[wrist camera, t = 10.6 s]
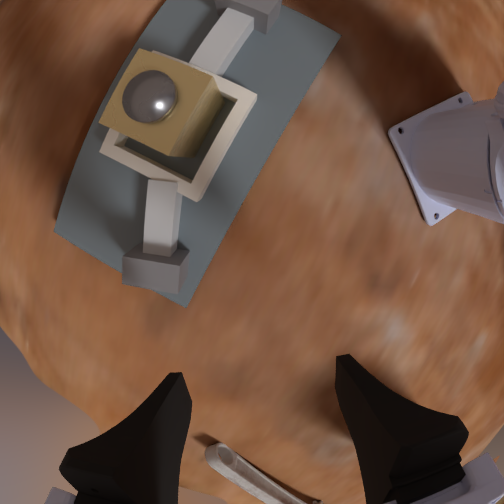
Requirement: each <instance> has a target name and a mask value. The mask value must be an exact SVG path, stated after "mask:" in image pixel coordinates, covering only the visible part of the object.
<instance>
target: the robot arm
mask: <svg viewBox="0 0 504 504" xmlns="http://www.w3.org/2000/svg"><path fill="white" fill-rule="evenodd" d="M458 99H459V100H460V103H459V101H458ZM398 128H400V129H401V130H402V133H401V134H400V133H399V132H398ZM388 135H389V138H390V140H391V142H392V144H393V146H394V148H395V150H396V152H397V154H398V156H399V159H400V161H401V163H402V165H403V167H404V170H405V172H406V174H407V176H408V179H409V181H410V184H411V186H412V188H413V191H414V193H415V196H416V198H417V201H418V204H419V206H420V209H421V211H422V214H423V217H424V220H425V222H426V224H428V225H431V226H432V225H434V224H436V223H437V222H439V221H440V220H441V219H443V218H444V217H446V216H447V215H449V214H450V213H452V212H453V211H454V210H456V209H460V210H463V211H466V212H469V213H472V214H476V215H479V216H482V217H485V218H488V219H490V220H493V221H496V222H499V223H502V224H504V81H503V82H502V83H501V84H500V86H499V87H498V91H497V95H496V96H495V99H489V100H482V101H476V102H473V101H472V98H471V96H470V94H469V93H468V92H462V93H460V94H458V95H455V96H453V97H451V98H449V99H447V100H445V101H443V102H441V103H439V104H437V105H435V106H433V107H431V108H428V109H426V110H424V111H422V112H420V113H418V114H416V115H414V116H412V117H410V118H408V119H406V120H404V121H403V122H401V123H399V124H397V125H395V126H393V127H391V128H390V129H389V130H388ZM435 213H436V218H434V214H435ZM335 389H336V394H337V398H338V402H339V406H340V408H341V411H342V413H343V416H344V419H345V421H346V424H347V426H348V429H349V431H350V434H351V437H352V439H353V442H354V445H355V449H356V453H357V457H358V461H359V465H360V470H361V475H362V480H363V485H364V491H365V497H366V504H495V503H496V502H498V501H499V500H500V499H501V498H502V497H503V496H504V478H503V476H502V474H501V473H500V471H499V469H498V468H497V466H496V464H495V463H494V461H493V459H492V458H491V456H490V455H489V453H488V452H487V453H484V454H483V455H481V456H479V457H477V458H476V459H474V460H472V461H470V462H468V463H467V464H466V465H464V466H463V467H462V466H461V464H460V462H461V460H462V459H461V457H460V455H459V452H460V451H461V449H462V447H463V446H464V444H465V442H466V440H467V438H468V435H469V432H468V430H467V429H466V427H465V425H464V424H463V422H462V421H461V420H460V418H459V417H458V416H454V415H449V414H445V413H441V412H437V411H434V410H431V409H428V408H426V407H423V406H420V405H418V404H416V403H414V402H412V401H410V400H408V399H406V398H404V397H402V396H400V395H399V394H397V393H395V392H394V391H392V390H391V389H389V388H388V387H386V386H385V385H384V384H382V383H381V382H380V381H379V380H377V379H376V378H375V377H374V376H373V375H371V374H370V373H369V372H368V371H367V370H366V369H365V368H363V367H362V366H361V365H360V364H359V363H358V362H357V361H356V360H355V359H354V358H353V357H352V356H351V355H350V354H346V355H341V356H336V379H335ZM191 411H192V400H191V397H190V394H189V392H188V389H187V386H186V383H185V380H184V377H183V374H182V372H177V373H169V374H168V375H167V376H166V378H165V379H164V380H163V381H162V382H161V383H160V384H159V386H158V387H157V388H156V389H155V390H154V391H153V392H152V393H151V395H150V396H149V397H148V398H147V399H146V400H145V401H144V402H143V403H142V404H141V405H140V406H139V407H138V408H137V409H136V410H135V411H134V412H133V413H131V414H130V415H129V416H128V417H127V418H125V419H124V420H123V421H121V422H120V423H119V424H117V425H116V426H114V427H113V428H111V429H110V430H108V431H107V432H105V433H103V434H102V435H100V436H98V437H96V438H94V439H92V440H90V441H88V442H85V443H83V444H80V445H78V446H75V447H72V448H69V449H68V451H67V453H66V455H65V457H64V459H63V461H62V463H61V465H60V467H59V470H60V472H61V474H62V476H63V477H64V478H65V479H66V480H67V481H68V482H69V483H70V484H71V485H72V486H73V487H74V488H75V489H76V490H77V491H78V494H77V496H75V495H73V494H72V493H69V492H66V491H64V490H61V489H58V488H56V487H52V489H51V491H50V493H49V495H48V497H47V500H46V502H45V504H178V486H179V474H180V464H181V458H182V453H183V449H184V445H185V441H186V437H187V433H188V429H189V424H190V420H191Z"/></svg>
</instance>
